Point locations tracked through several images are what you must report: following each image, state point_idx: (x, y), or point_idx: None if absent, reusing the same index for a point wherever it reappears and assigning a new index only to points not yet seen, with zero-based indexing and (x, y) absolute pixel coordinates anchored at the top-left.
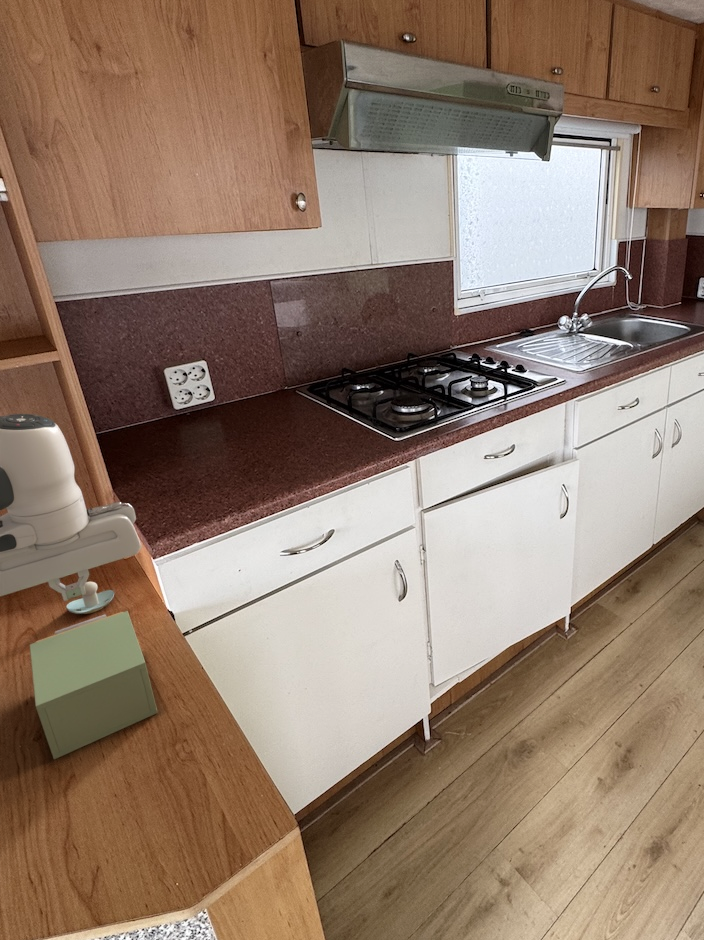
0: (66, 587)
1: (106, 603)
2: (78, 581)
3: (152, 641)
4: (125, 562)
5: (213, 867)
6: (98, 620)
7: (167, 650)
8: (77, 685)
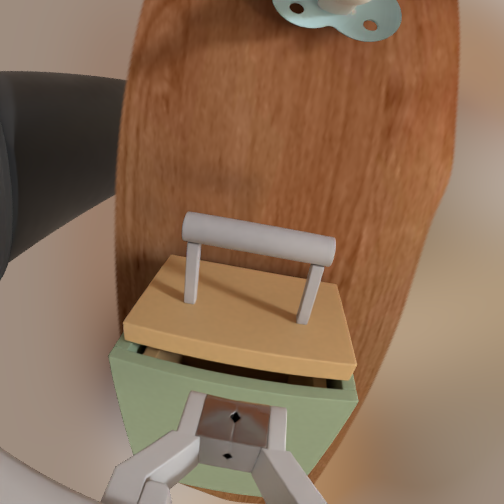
0: (204, 446)
1: (368, 40)
2: (262, 465)
3: (380, 267)
4: None
5: (251, 500)
6: (288, 361)
7: (380, 316)
8: (192, 482)
